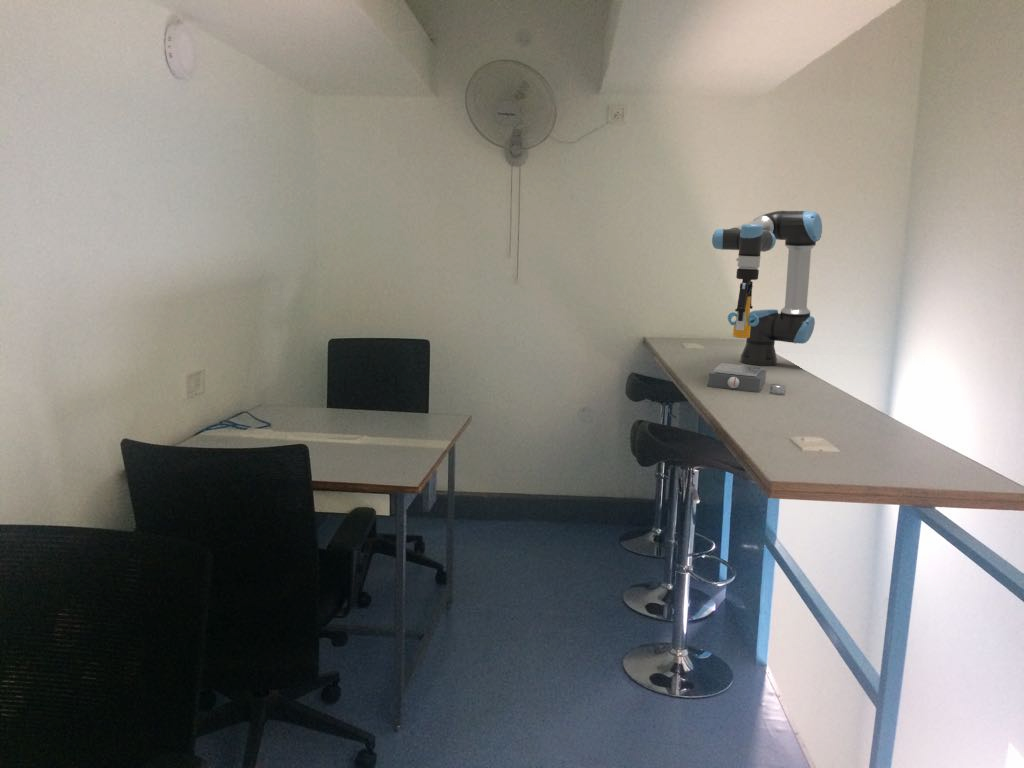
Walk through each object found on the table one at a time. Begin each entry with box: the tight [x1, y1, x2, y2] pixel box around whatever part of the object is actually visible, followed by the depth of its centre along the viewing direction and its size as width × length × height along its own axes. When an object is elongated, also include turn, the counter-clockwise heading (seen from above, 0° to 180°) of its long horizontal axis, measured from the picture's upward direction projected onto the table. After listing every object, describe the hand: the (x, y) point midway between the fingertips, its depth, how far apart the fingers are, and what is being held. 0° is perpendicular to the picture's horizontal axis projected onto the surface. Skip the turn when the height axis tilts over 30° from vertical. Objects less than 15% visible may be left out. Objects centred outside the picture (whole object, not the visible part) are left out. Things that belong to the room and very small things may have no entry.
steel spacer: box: [769, 383, 787, 396], centre depth 265 cm, size 5×5×3 cm
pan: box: [713, 362, 763, 377], centre depth 277 cm, size 15×15×5 cm
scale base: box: [707, 364, 767, 393], centre depth 277 cm, size 19×18×5 cm
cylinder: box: [727, 296, 759, 339], centre depth 272 cm, size 12×10×15 cm
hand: (742, 328), depth 273 cm, fingers closed on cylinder, 12 cm apart
